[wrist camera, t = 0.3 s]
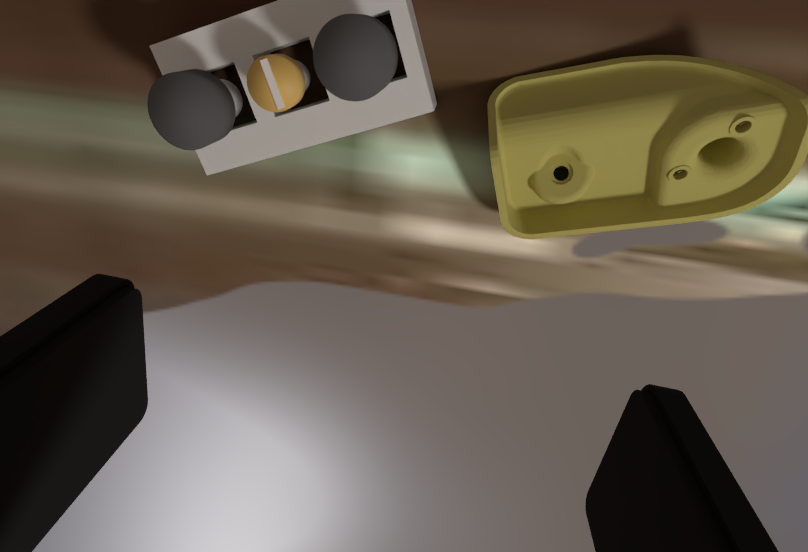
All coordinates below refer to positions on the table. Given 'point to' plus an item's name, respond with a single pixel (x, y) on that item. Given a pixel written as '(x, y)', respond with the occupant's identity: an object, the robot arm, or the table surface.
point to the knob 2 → (355, 56)
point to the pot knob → (277, 82)
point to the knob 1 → (193, 108)
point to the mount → (313, 123)
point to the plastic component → (641, 144)
